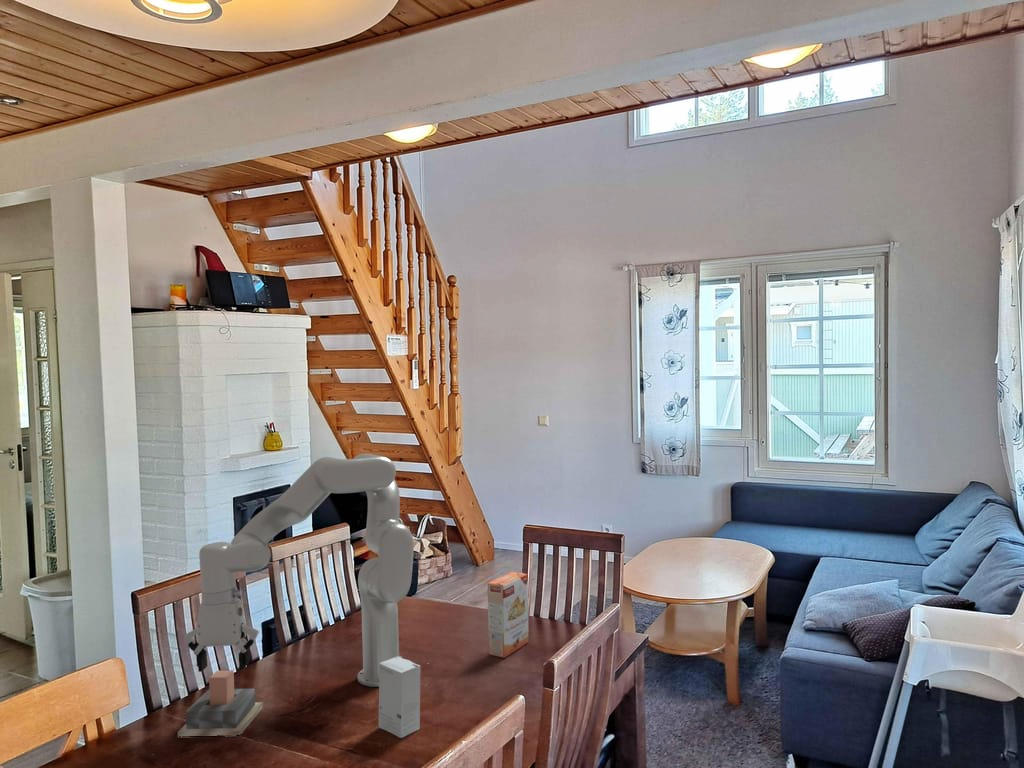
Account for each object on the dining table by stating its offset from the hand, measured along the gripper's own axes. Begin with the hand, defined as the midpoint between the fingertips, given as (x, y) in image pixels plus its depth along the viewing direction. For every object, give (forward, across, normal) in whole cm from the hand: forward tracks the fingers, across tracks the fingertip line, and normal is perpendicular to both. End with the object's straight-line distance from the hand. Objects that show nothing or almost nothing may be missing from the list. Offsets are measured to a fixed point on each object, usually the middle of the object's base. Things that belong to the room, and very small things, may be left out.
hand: (223, 668), depth 163 cm
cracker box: (+15, -66, -40) cm, 79 cm away
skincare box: (+14, -42, +6) cm, 45 cm away
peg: (+11, +1, 0) cm, 11 cm away
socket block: (+12, +1, 0) cm, 12 cm away
